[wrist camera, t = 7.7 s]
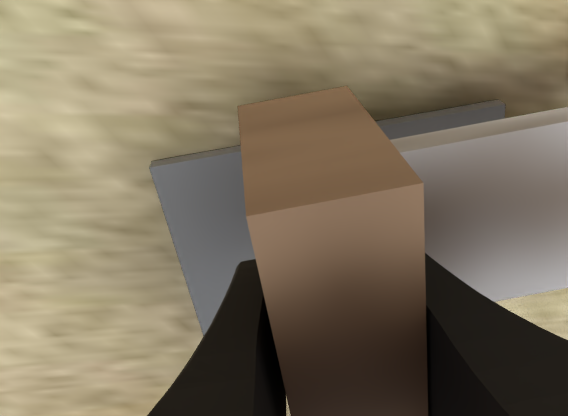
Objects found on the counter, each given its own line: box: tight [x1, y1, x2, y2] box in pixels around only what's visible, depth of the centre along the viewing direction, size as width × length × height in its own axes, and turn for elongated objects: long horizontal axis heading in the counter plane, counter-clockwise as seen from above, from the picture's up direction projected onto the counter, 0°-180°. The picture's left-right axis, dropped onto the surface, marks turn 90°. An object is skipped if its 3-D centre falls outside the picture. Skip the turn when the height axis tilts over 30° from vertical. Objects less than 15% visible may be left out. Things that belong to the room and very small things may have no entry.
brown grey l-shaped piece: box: [238, 86, 568, 416], centre depth 11 cm, size 8×12×5 cm, turn 99°
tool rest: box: [149, 100, 505, 335], centre depth 21 cm, size 10×14×1 cm
